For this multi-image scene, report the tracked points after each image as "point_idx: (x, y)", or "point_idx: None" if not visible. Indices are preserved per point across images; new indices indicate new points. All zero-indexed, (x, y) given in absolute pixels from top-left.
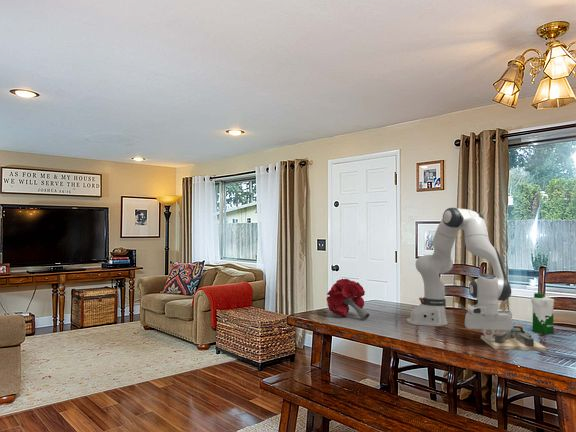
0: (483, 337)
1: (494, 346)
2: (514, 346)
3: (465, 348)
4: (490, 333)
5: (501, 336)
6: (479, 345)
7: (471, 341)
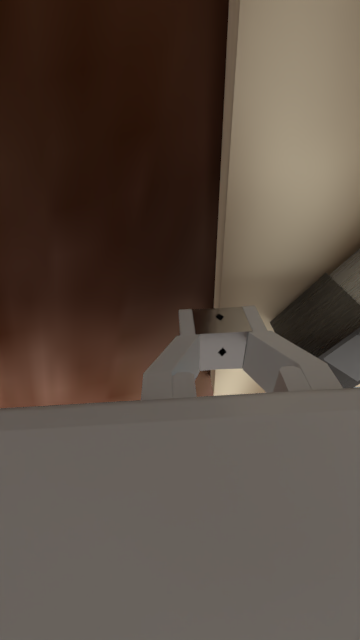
0: (236, 52)
1: (213, 389)
2: (357, 385)
3: (15, 402)
4: (265, 350)
5: (347, 385)
6: (120, 319)
7: (46, 173)
